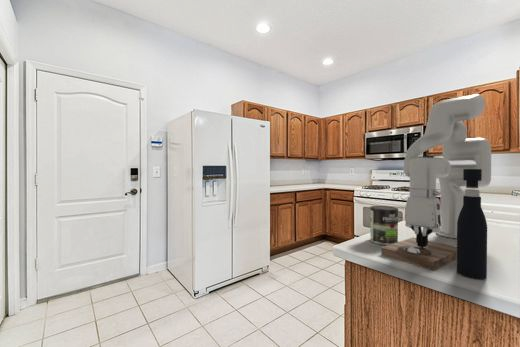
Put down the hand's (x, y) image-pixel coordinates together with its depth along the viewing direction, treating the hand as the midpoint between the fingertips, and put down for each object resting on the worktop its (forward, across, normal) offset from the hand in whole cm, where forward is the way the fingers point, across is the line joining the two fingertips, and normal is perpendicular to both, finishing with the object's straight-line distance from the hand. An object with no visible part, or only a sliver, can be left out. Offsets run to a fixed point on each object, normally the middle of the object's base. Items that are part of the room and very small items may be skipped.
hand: (421, 246), depth 84 cm
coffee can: (+3, +16, -4) cm, 17 cm away
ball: (+1, 0, +6) cm, 6 cm away
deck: (+3, 0, 0) cm, 3 cm away
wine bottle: (+3, -15, +5) cm, 16 cm away
